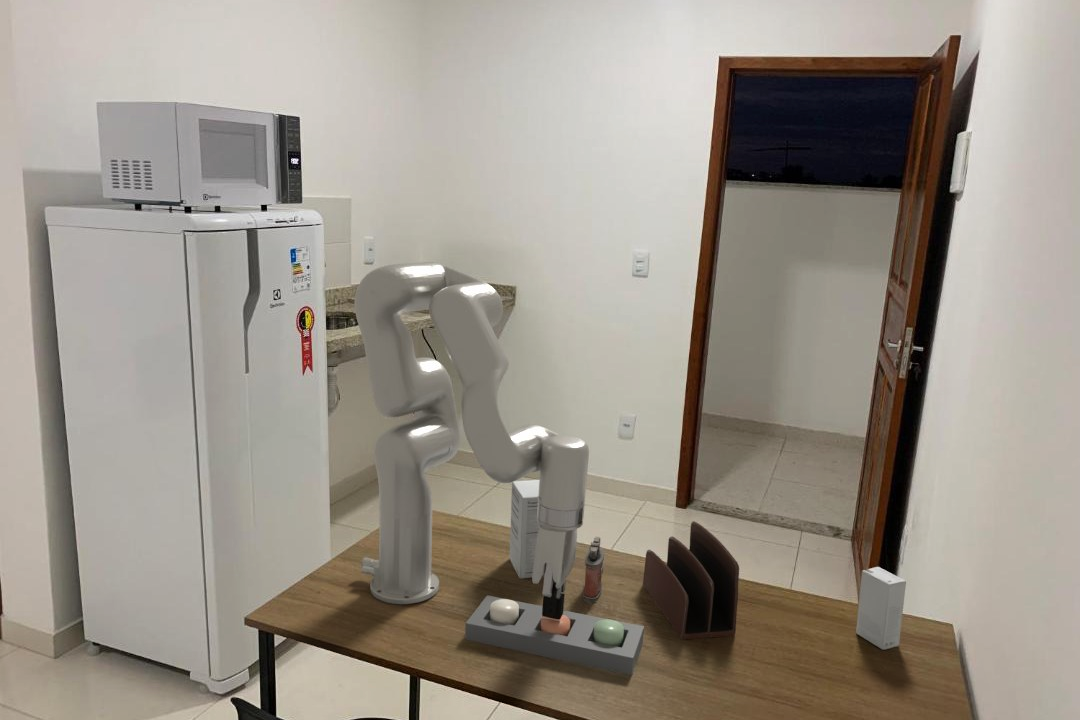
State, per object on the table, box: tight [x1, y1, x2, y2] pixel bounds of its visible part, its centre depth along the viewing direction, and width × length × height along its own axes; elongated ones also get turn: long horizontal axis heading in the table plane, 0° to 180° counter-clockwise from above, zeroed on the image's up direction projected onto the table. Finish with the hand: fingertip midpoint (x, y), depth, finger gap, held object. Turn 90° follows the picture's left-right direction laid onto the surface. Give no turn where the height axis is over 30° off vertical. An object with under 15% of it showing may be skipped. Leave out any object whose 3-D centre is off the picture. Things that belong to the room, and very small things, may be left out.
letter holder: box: [642, 520, 740, 640], centre depth 144 cm, size 10×20×14 cm, turn 13°
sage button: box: [593, 618, 624, 648], centre depth 129 cm, size 5×5×3 cm
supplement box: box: [509, 479, 544, 579], centre depth 157 cm, size 10×9×17 cm
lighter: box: [582, 536, 605, 603], centre depth 149 cm, size 8×3×10 cm, turn 168°
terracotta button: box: [541, 615, 570, 636], centre depth 132 cm, size 5×5×3 cm
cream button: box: [490, 598, 519, 626], centre depth 134 cm, size 5×5×3 cm
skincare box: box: [855, 566, 907, 650], centre depth 136 cm, size 6×4×12 cm
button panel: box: [464, 595, 645, 676], centre depth 132 cm, size 28×10×3 cm, turn 73°
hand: (552, 615), depth 132 cm, fingers closed
